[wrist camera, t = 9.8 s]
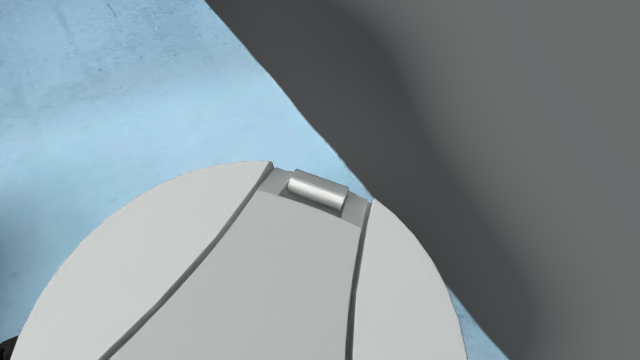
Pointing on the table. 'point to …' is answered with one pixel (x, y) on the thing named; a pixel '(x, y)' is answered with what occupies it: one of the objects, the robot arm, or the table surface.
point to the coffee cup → (246, 278)
